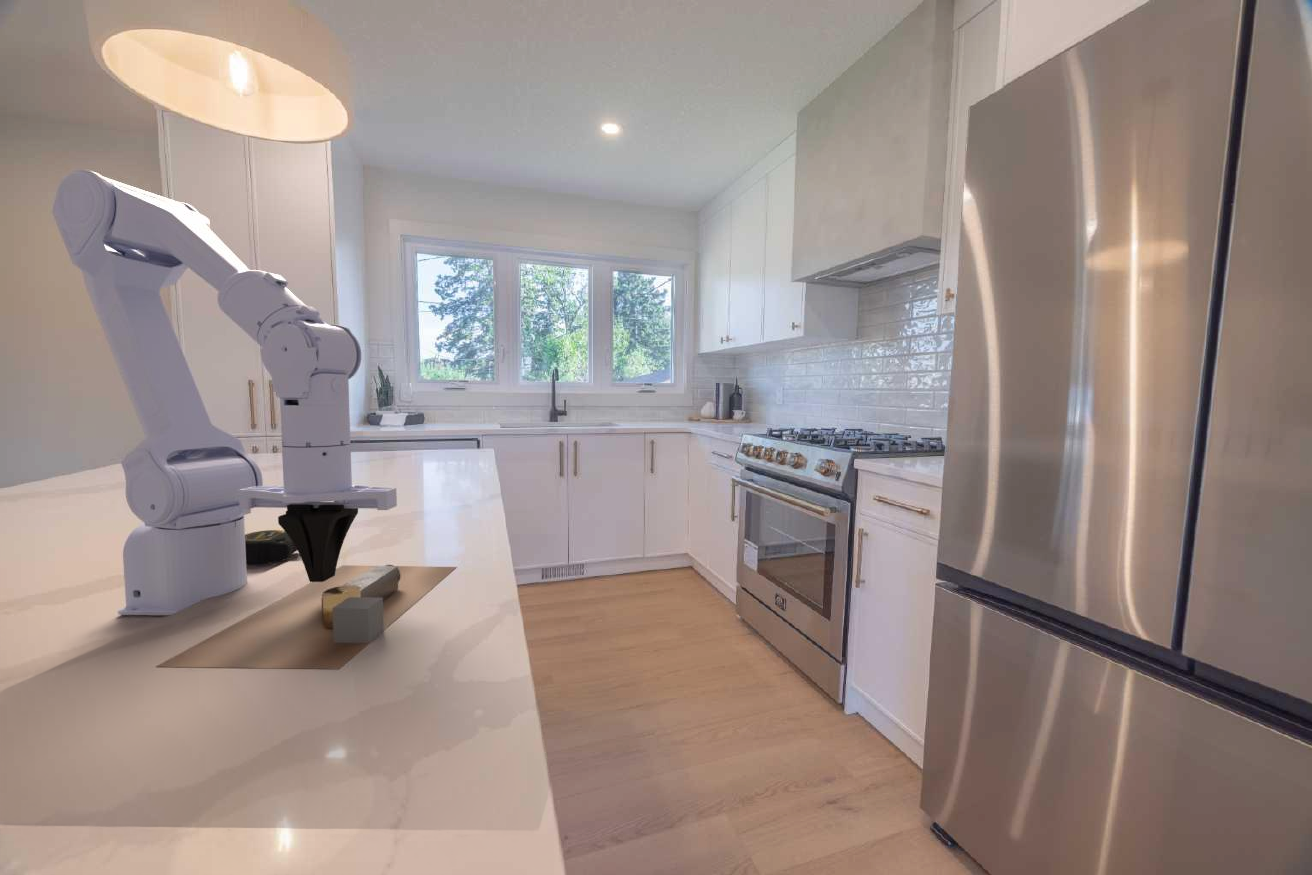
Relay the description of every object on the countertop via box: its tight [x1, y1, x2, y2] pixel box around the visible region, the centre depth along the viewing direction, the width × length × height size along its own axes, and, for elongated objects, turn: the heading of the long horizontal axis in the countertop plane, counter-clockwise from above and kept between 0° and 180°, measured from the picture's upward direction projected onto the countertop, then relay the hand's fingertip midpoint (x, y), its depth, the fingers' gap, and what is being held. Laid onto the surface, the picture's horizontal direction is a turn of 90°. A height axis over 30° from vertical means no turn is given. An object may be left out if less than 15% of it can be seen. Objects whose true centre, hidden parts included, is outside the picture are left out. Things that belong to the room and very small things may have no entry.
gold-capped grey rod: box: [322, 564, 401, 628], centre depth 51 cm, size 10×3×3 cm, turn 0°
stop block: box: [332, 597, 385, 644], centre depth 45 cm, size 3×2×3 cm
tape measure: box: [245, 529, 298, 566], centre depth 69 cm, size 7×7×4 cm
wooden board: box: [155, 564, 458, 670], centre depth 52 cm, size 14×24×2 cm, turn 0°
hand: (322, 578), depth 52 cm, fingers closed
